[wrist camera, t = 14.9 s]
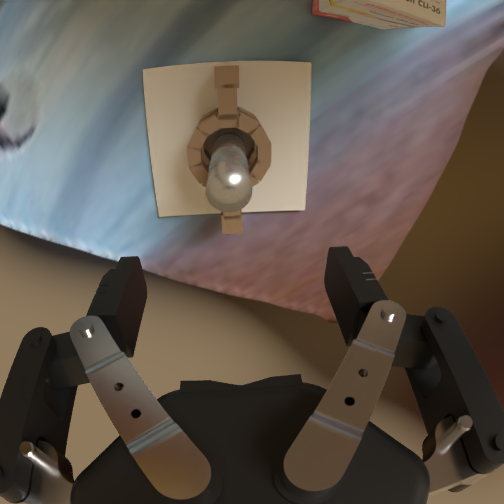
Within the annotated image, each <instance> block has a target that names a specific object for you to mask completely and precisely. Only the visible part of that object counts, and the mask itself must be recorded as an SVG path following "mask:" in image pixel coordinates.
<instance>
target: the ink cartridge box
mask: <svg viewBox="0 0 504 504" xmlns="http://www.w3.org/2000/svg"><path fill="white" fill-rule="evenodd" d="M312 15H318V16H324V17H330V18H335V19H340V20H345V21H349V22H354V23H358V24H363V25H367V26H371V27H375V28H378V29H382V30H385V29H395V28H408V27H434V26H436V27H445V19H446V0H313V4H312Z"/></svg>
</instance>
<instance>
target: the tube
mask: <svg viewBox="0 0 504 504" xmlns="http://www.w3.org/2000/svg"><path fill="white" fill-rule="evenodd" d="M206 196H207V199H208V201H209V203H210V204H211V205H212V206H213V207H214V208H215V209H217V210H219V211H222V212H236V211H239V210H241V209H242V208H244V207H245V206H246V205H247V204H248V203H249V201H250V199H251V197H252V184H251V178H250V173H249V167H248V162H247V157H246V151H245V145H244V140H243V136H242V134H241V132H240V131H239V130H237V129H236V128H222V129H221V130H219V131H218V132H217V134H216V136H215V139H214V144H213V150H212V156H211V162H210V167H209V173H208V179H207V185H206Z"/></svg>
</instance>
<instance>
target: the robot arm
mask: <svg viewBox="0 0 504 504" xmlns="http://www.w3.org/2000/svg"><path fill="white" fill-rule="evenodd" d="M324 283H325V289H326V292H327V295H328V297H329V300H330V303H331V305H332V308H333V311H334V313H335V316H336V319H337V321H338V324H339V327H340V329H341V332H342V335H343V338H344V340H345V343H346V346H350V348H349V350H348V352H347V354H346V356H345V358H344V360H343V362H342V364H341V366H340V367H339V369H338V371H337V373H336V375H335V376H334V378H333V380H332V382H331V384H330V385H329V387H328V389H327V390H326V389H324V388H322V387H320V386H317V385H314V384H309V383H303V382H302V379H301V375H300V374H297V375H287V376H276V377H269V378H266V379H263V380H259V381H256V382H252V383H249V384H245V385H233V384H227V383H222V382H216V381H211V380H203V381H181V384H180V390H176V391H173V392H170V393H167V394H165V395H163V396H161V397H160V398H158V399H156V398H155V397H154V395H153V394H152V393H151V391H150V390H149V389H148V387H147V386H146V384H145V383H144V381H143V380H142V379H141V377H140V376H139V375H138V373H137V371H136V370H135V369H134V367H133V366H132V364H131V363H130V361H129V360H128V358H127V357H133V355H134V350H135V345H136V341H137V337H138V332H139V328H140V324H141V320H142V316H143V311H144V307H145V303H146V299H147V287H146V282H145V279H144V274H143V270H142V266H141V262H140V259H139V257H138V256H132V257H121V258H120V260H119V262H118V264H117V267H116V269H111V270H109V271H108V272H107V273H106V274H105V275H104V276H103V278H102V280H101V282H100V284H99V287H98V289H97V291H96V294H95V296H94V298H93V300H92V303H91V305H90V308H89V310H88V313H87V315H86V316H85V317H82V318H80V319H78V320H77V321H76V322H74V324H73V325H72V326H71V328H70V332H67V333H63V334H58V335H54V336H52V335H51V333H50V331H49V330H48V329H47V328H43V327H38V328H35V329H32V330H31V331H29V332H28V333H27V334H26V335H25V336H24V338H23V340H22V342H21V344H20V347H19V349H18V352H17V354H16V357H15V359H14V362H13V364H12V367H11V370H10V372H9V375H8V378H7V381H6V384H5V386H4V389H3V392H2V395H1V398H0V496H1V497H3V498H4V499H6V500H7V501H9V502H10V503H12V504H426V503H427V499H428V497H429V496H432V495H434V494H437V493H440V492H442V491H445V490H448V491H451V492H459V491H462V490H463V489H465V488H467V487H469V486H470V485H472V484H474V483H475V482H477V481H478V480H480V479H482V478H483V477H485V476H486V475H488V474H489V473H491V472H492V471H494V470H495V469H497V468H498V467H500V466H501V465H502V464H504V411H503V409H502V407H501V405H500V402H499V400H498V398H497V396H496V394H495V392H494V389H493V387H492V385H491V383H490V381H489V379H488V377H487V375H486V373H485V371H484V369H483V367H482V365H481V363H480V361H479V359H478V357H477V356H476V354H475V352H474V350H473V348H472V346H471V344H470V343H469V341H468V339H467V337H466V335H465V334H464V332H463V330H462V329H461V327H460V325H459V323H458V322H457V320H456V318H455V317H454V315H453V314H452V313H451V312H449V311H448V310H446V309H444V308H441V307H432V308H430V309H428V310H427V312H426V314H425V316H416V315H409V314H406V313H405V311H404V309H403V308H402V307H401V306H400V305H398V304H397V303H395V302H392V301H389V300H388V298H387V297H386V295H385V293H384V292H383V290H382V288H381V286H380V284H379V283H378V281H377V280H376V277H375V276H374V274H373V273H372V271H371V269H370V267H369V265H368V264H367V263H366V262H365V261H363V260H362V259H361V258H359V257H353V255H352V253H351V251H350V250H349V248H348V247H347V246H342V247H330V248H329V251H328V257H327V264H326V270H325V278H324ZM391 366H397V367H404V368H405V370H406V373H407V376H408V378H409V381H410V384H411V386H412V389H413V392H414V394H415V397H416V400H417V403H418V406H419V409H420V412H421V415H422V418H423V421H424V424H425V427H426V430H427V434H428V435H427V436H426V437H425V439H424V441H423V444H422V453H423V458H422V460H421V458H420V457H419V456H418V455H416V454H415V453H414V452H413V451H411V450H410V449H408V448H407V447H405V446H404V445H402V444H401V443H399V442H398V441H397V440H395V439H394V438H392V437H391V436H390V435H388V434H387V433H385V432H384V431H382V430H381V429H380V428H379V427H377V426H376V425H374V424H373V423H372V422H370V421H369V419H370V417H371V415H372V413H373V410H374V408H375V405H376V403H377V401H378V398H379V396H380V393H381V391H382V389H383V386H384V384H385V381H386V378H387V376H388V373H389V370H390V368H391ZM85 383H91V385H92V386H93V388H94V391H95V392H96V394H97V396H98V398H99V400H100V402H101V404H102V405H103V407H104V409H105V411H106V412H107V414H108V416H109V418H110V419H111V421H112V423H113V425H114V426H115V428H116V429H117V431H118V433H119V434H120V436H119V437H118V438H117V439H115V440H114V441H113V442H112V443H111V444H110V445H109V446H108V447H107V448H106V449H105V450H104V451H103V452H102V453H101V454H100V455H99V456H98V457H97V458H96V459H95V460H94V461H93V462H92V463H91V464H90V465H89V466H88V467H87V468H86V469H85V470H83V471H82V472H81V473H80V474H79V476H78V477H77V478H76V480H75V481H74V478H73V469H72V465H71V463H70V461H69V460H68V459H67V458H66V457H65V451H66V445H67V438H68V432H69V427H70V421H71V416H72V410H73V406H74V400H75V395H76V391H77V387H78V385H80V384H85Z"/></svg>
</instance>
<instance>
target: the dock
mask: <svg viewBox="0 0 504 504" xmlns="http://www.w3.org/2000/svg"><path fill="white" fill-rule="evenodd" d="M311 64H312V63H311V62H293V61H223V62H205V63H192V64H182V65H172V66H164V67H156V68H149V69H143V83H144V96H145V108H146V119H147V129H148V139H149V148H150V156H151V164H152V172H153V179H154V187H155V194H156V200H157V207H158V213H159V217H165V216H181V215H198V214H217V213H221V220H222V234H240V233H243V225H242V212H262V211H292V210H305V201H306V186H307V170H308V152H309V131H310V105H311ZM222 128H236V129H237V130H239V131H240V132H241V134H242V136H243V140H244V145H245V151H246V157H247V162H248V167H249V173H250V178H251V184H252V197H251V199H250V201H249V203H248V204H247V205H246V206H245V207H244V208H242V209H241V210H239V211H236V212H222V211H219V210H217V209H215V208H214V207H213V206H212V205H211V204H210V203H209V201H208V199H207V196H206V185H207V179H208V173H209V167H210V162H211V156H212V150H213V144H214V139H215V136H216V134H217V132H218V131H219V130H221V129H222Z"/></svg>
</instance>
